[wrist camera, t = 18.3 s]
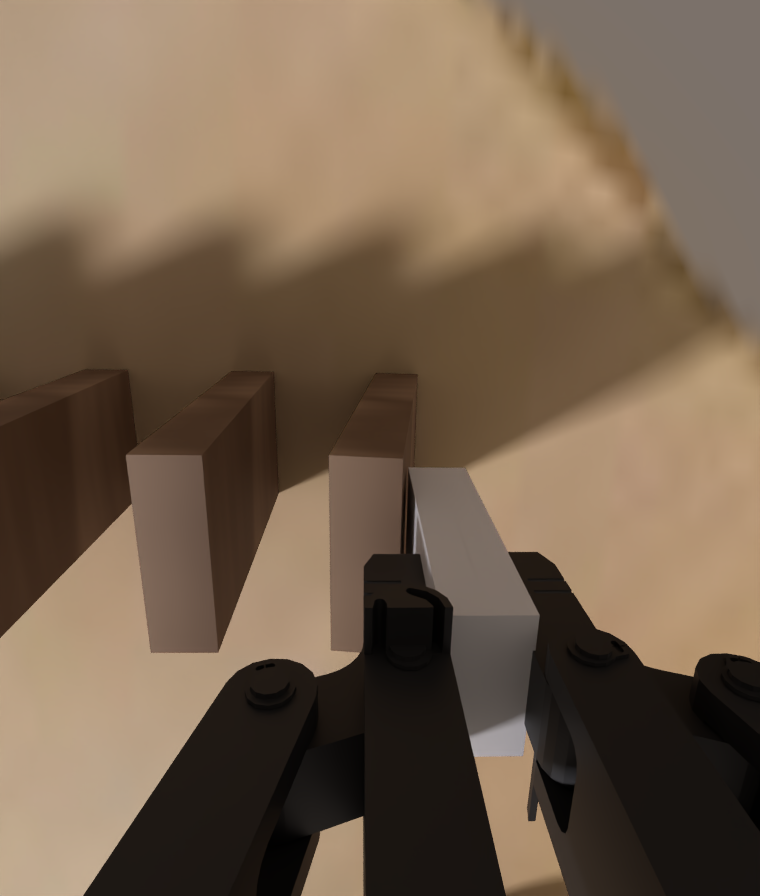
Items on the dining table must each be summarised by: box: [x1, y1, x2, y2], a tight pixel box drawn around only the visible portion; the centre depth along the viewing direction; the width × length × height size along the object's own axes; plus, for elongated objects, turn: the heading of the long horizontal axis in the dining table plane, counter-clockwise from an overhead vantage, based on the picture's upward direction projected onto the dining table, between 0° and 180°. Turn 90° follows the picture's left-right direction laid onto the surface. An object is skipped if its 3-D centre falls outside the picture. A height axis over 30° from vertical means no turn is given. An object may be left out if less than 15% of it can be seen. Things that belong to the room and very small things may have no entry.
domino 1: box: [0, 369, 137, 638], centre depth 17 cm, size 2×5×10 cm, turn 179°
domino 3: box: [329, 373, 418, 652], centre depth 18 cm, size 2×5×10 cm, turn 179°
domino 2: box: [126, 371, 279, 653], centre depth 18 cm, size 2×5×10 cm, turn 179°
